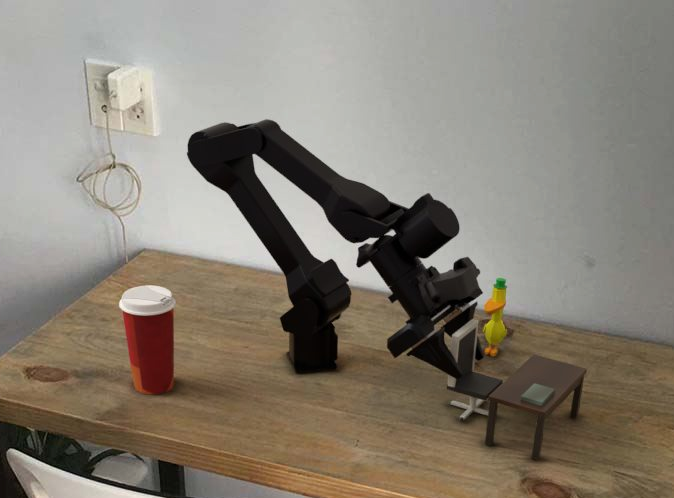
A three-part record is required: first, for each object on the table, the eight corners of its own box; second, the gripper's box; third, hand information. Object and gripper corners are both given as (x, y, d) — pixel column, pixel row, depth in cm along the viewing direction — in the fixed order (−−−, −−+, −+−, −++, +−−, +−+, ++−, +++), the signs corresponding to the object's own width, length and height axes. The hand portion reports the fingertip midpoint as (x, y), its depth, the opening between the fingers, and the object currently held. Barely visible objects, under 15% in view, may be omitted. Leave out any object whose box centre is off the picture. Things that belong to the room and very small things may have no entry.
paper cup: (191, 380, 163) (186, 290, 155) (161, 402, 157) (154, 310, 149) (146, 368, 166) (138, 279, 158) (115, 390, 160) (105, 298, 152)
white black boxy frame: (437, 414, 157) (444, 334, 150) (460, 394, 163) (467, 315, 156) (484, 429, 154) (492, 347, 148) (505, 408, 160) (515, 328, 153)
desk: (483, 445, 151) (488, 391, 146) (527, 400, 162) (534, 349, 157) (537, 462, 148) (545, 408, 143) (579, 415, 159) (587, 364, 154)
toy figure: (492, 364, 171) (500, 291, 164) (470, 358, 173) (478, 285, 166) (509, 348, 176) (518, 276, 169) (488, 342, 177) (496, 271, 171)
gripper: (412, 266, 141) (482, 367, 143) (476, 224, 155) (540, 317, 157) (356, 309, 149) (424, 404, 150) (422, 265, 162) (484, 353, 164)
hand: (470, 368), depth 155 cm, fingers closed on white black boxy frame, 6 cm apart
